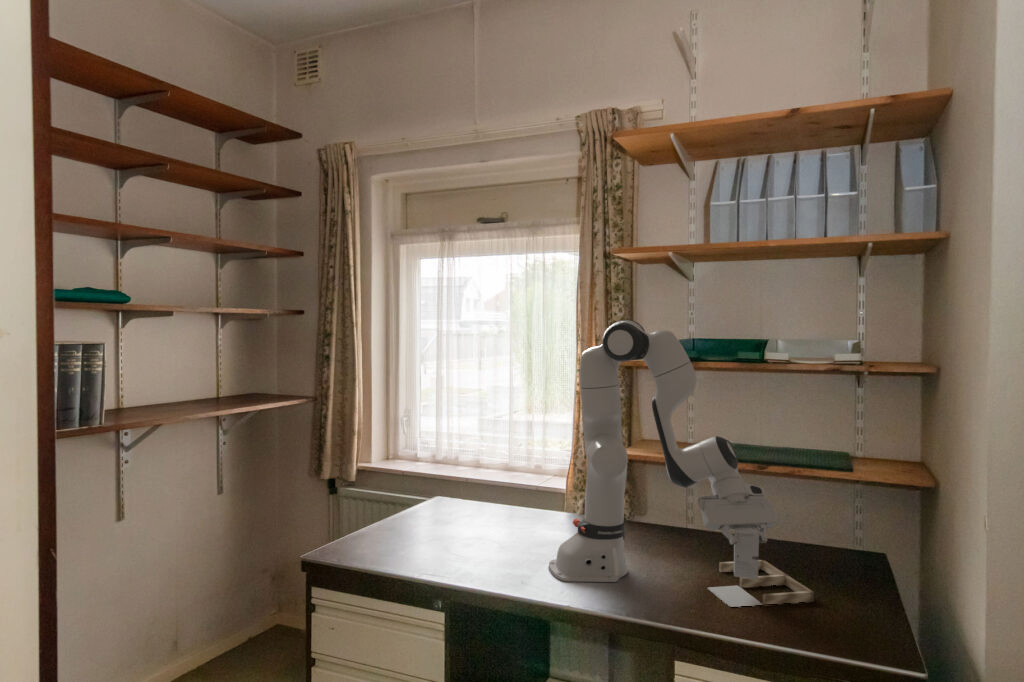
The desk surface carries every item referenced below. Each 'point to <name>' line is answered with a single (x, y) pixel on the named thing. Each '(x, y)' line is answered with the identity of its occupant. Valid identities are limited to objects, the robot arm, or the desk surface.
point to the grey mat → (734, 596)
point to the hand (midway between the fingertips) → (749, 542)
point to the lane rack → (773, 579)
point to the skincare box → (746, 552)
